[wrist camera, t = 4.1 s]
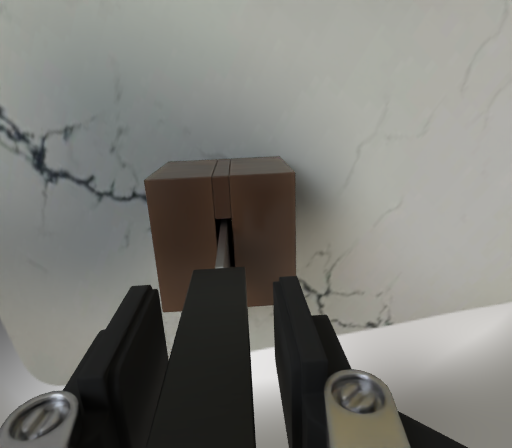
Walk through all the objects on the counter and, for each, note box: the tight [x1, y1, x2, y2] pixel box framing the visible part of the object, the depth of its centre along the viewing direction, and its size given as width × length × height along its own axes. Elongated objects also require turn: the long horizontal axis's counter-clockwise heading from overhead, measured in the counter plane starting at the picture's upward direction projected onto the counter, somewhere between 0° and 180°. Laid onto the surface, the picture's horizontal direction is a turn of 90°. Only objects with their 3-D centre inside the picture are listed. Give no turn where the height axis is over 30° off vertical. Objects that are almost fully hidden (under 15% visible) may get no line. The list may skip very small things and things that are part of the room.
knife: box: [146, 218, 256, 448], centre depth 14 cm, size 2×2×18 cm
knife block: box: [144, 156, 296, 312], centre depth 20 cm, size 7×7×6 cm
